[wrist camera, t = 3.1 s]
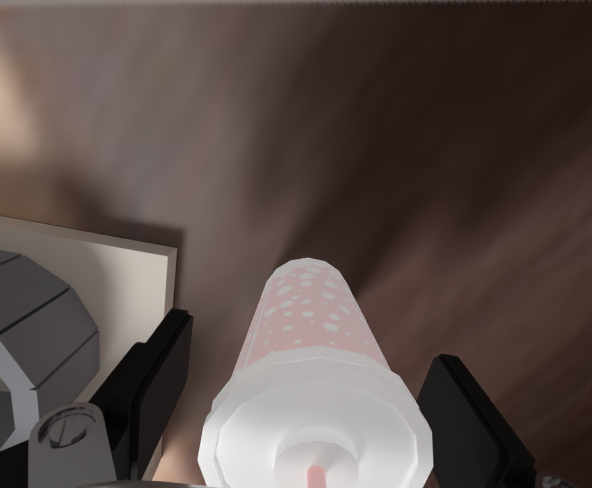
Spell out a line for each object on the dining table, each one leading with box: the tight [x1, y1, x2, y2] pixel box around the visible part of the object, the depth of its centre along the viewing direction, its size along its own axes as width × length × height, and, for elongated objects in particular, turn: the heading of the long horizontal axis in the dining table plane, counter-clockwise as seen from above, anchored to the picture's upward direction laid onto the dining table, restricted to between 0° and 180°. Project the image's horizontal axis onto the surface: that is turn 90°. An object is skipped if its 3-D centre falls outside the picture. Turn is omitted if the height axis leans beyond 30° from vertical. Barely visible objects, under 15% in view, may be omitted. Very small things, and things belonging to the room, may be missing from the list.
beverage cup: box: [198, 258, 433, 488], centre depth 10 cm, size 6×6×14 cm
